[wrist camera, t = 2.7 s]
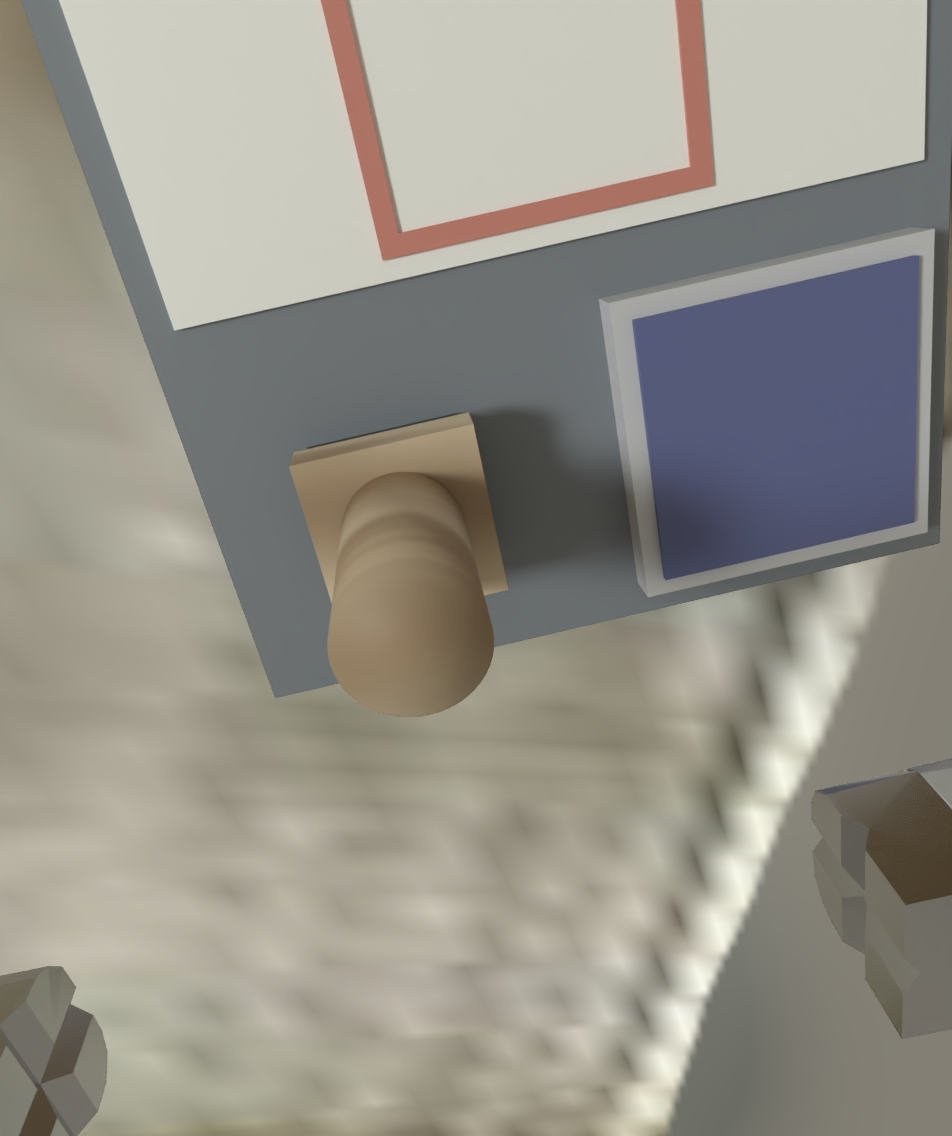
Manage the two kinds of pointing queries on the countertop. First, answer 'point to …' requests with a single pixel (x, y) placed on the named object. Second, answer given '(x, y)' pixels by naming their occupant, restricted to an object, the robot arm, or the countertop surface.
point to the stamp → (404, 561)
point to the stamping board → (536, 274)
